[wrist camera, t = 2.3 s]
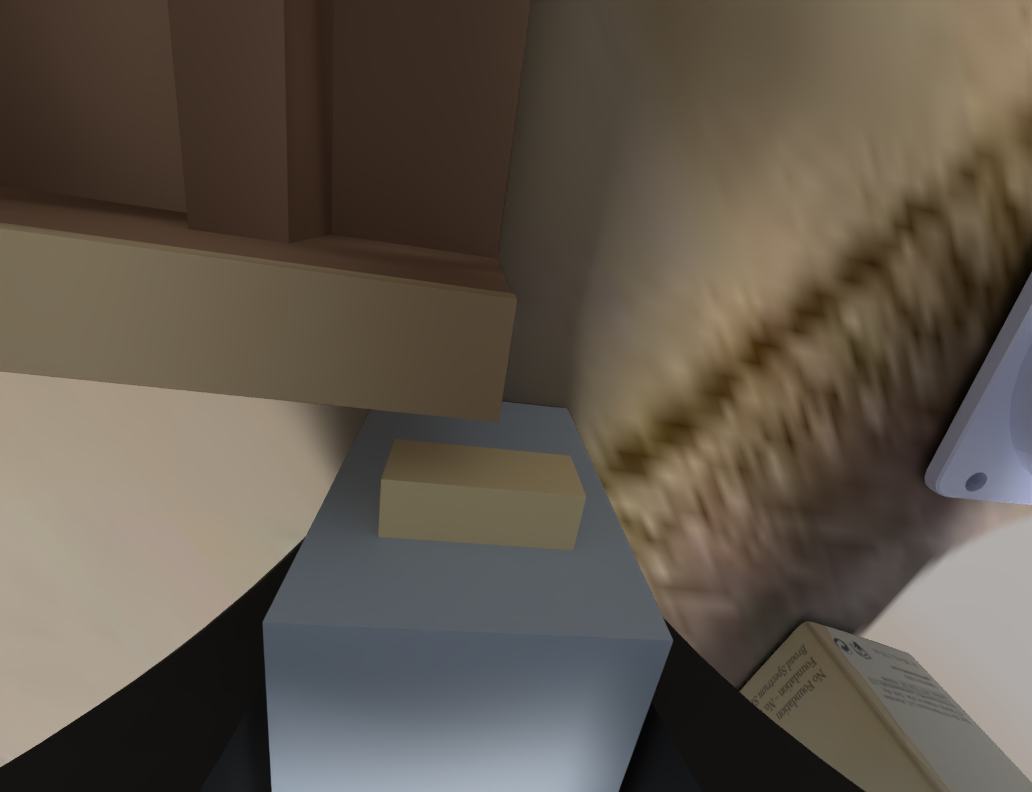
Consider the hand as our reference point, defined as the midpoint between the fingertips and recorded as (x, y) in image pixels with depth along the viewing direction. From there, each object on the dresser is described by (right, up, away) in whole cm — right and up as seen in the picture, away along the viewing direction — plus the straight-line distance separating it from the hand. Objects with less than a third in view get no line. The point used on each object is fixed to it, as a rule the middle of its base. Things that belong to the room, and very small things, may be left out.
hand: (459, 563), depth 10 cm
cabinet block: (0, +1, +2) cm, 2 cm away
